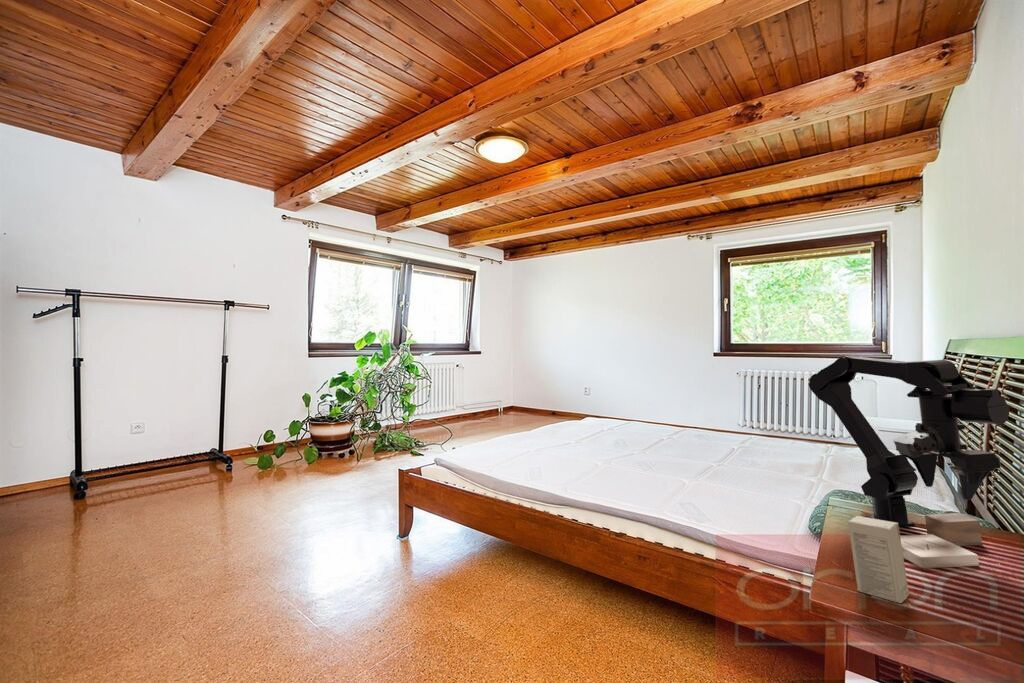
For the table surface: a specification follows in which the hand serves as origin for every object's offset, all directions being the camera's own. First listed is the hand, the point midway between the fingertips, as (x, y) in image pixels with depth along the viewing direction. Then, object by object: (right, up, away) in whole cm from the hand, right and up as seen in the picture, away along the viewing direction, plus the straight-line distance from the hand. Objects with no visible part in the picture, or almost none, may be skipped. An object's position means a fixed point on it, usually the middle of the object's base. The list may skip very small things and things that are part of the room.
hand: (947, 492), depth 95 cm
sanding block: (+1, -10, -1) cm, 10 cm away
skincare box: (-28, -12, -18) cm, 35 cm away
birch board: (-10, -11, -6) cm, 15 cm away
